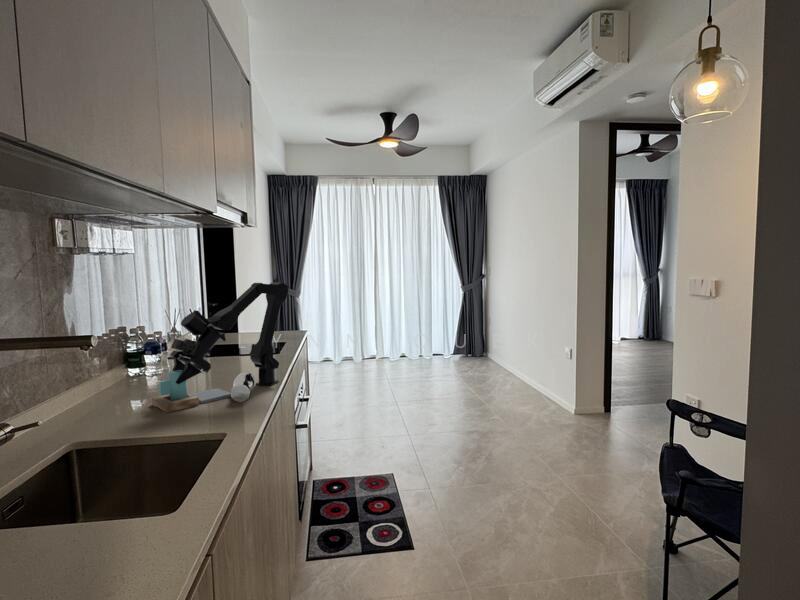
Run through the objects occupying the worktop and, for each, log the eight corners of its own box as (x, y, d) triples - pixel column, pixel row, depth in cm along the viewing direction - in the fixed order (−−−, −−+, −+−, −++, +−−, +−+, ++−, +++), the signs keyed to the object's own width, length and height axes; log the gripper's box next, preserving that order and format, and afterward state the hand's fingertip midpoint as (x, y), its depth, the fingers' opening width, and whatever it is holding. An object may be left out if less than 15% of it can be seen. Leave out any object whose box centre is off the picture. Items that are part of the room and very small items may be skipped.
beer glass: (247, 380, 155) (251, 368, 169) (226, 387, 153) (232, 375, 168) (253, 399, 156) (257, 386, 170) (233, 406, 155) (238, 392, 169)
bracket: (182, 398, 160) (182, 391, 160) (198, 404, 152) (198, 397, 152) (152, 405, 153) (151, 397, 152) (167, 412, 145) (167, 404, 145)
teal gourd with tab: (183, 398, 157) (181, 369, 156) (190, 401, 153) (188, 371, 153) (157, 404, 151) (155, 374, 150) (164, 407, 147) (162, 376, 146)
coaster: (216, 390, 169) (216, 388, 169) (232, 396, 162) (232, 393, 162) (186, 397, 161) (186, 394, 161) (201, 403, 153) (201, 400, 153)
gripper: (174, 327, 160) (142, 364, 153) (199, 331, 148) (166, 372, 141) (198, 346, 167) (168, 382, 160) (224, 352, 155) (193, 392, 147)
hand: (173, 382), depth 152 cm, fingers closed on teal gourd with tab, 5 cm apart
